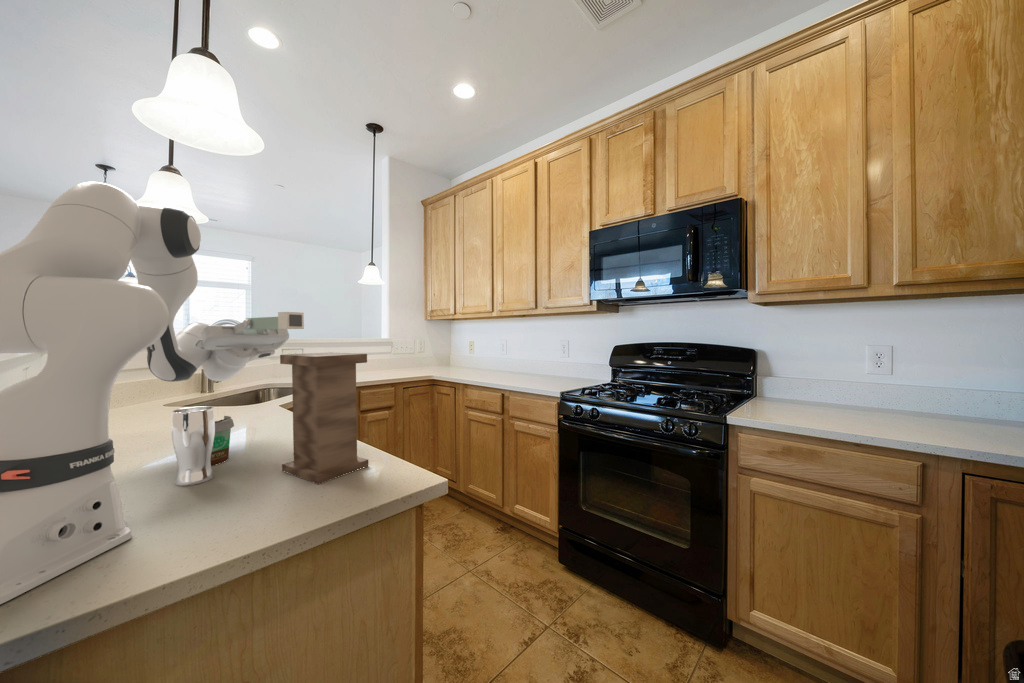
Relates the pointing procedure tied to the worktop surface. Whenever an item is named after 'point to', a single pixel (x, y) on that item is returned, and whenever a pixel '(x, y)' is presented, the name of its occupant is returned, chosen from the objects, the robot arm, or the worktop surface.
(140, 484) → the worktop surface
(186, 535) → the worktop surface
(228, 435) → the food container
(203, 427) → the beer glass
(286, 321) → the sage bar
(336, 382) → the wooden pedestal column
